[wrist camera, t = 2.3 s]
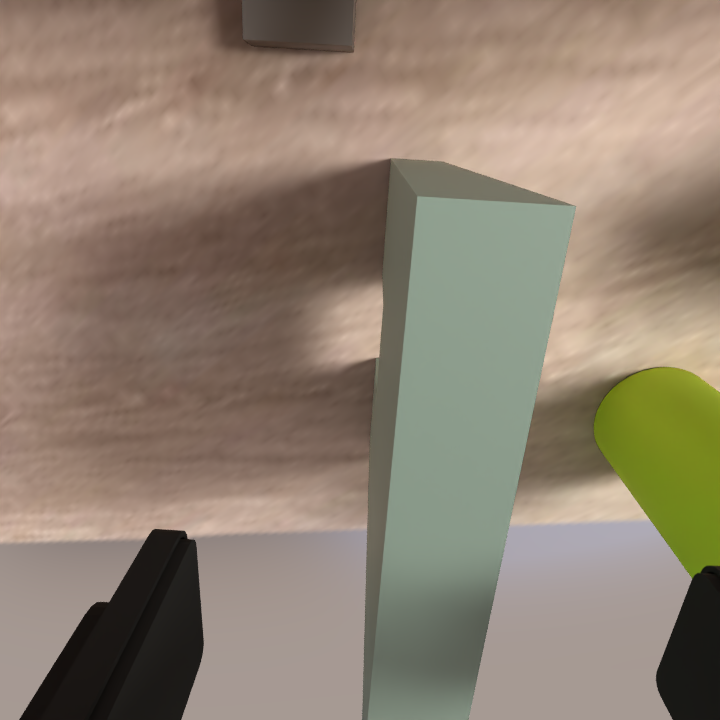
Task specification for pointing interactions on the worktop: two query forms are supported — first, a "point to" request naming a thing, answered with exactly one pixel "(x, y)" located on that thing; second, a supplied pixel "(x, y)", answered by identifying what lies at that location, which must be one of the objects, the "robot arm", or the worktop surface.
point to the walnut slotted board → (300, 24)
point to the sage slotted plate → (450, 423)
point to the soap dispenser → (668, 456)
